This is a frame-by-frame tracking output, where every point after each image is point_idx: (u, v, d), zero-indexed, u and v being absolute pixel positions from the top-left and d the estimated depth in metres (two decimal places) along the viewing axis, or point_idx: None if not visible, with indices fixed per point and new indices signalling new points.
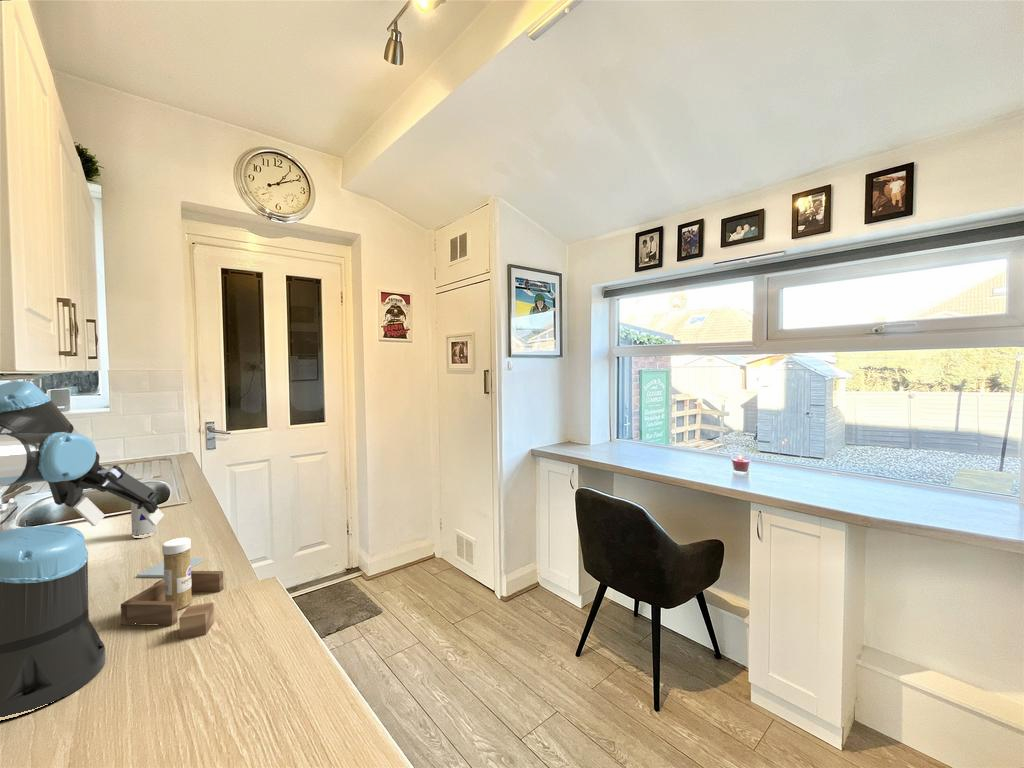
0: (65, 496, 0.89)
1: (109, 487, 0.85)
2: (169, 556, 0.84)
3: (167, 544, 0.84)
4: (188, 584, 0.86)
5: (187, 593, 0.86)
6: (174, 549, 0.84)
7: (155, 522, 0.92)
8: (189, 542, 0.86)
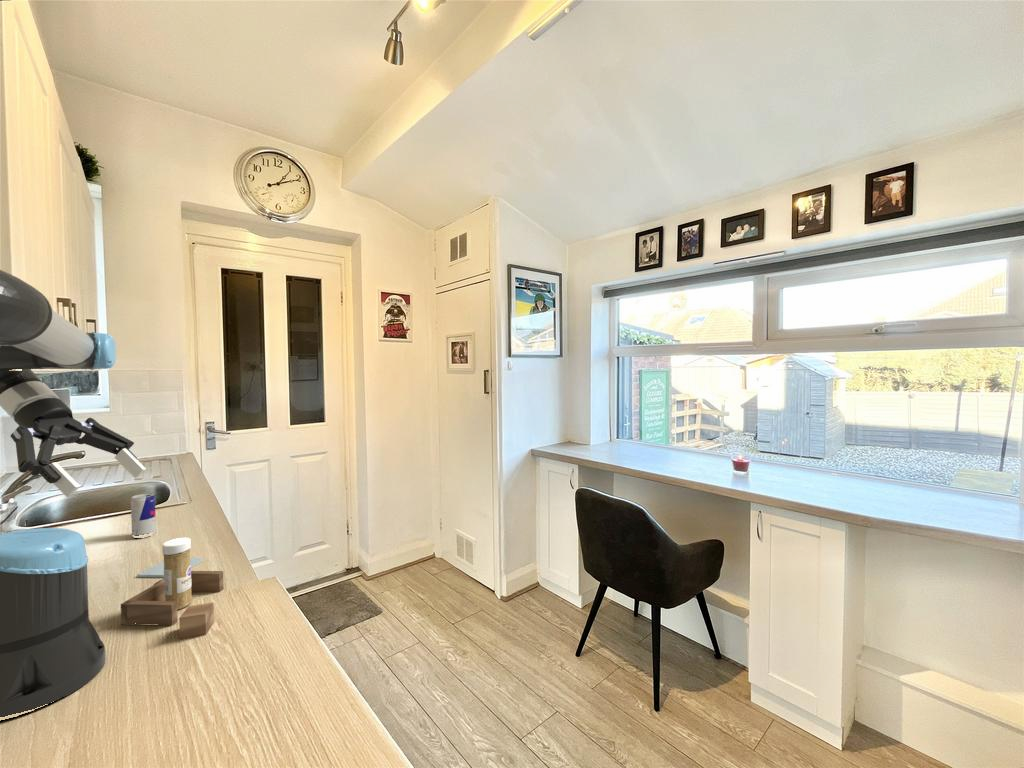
0: None
1: None
2: (169, 556, 0.84)
3: (167, 544, 0.84)
4: (188, 584, 0.86)
5: (187, 593, 0.86)
6: (174, 549, 0.84)
7: None
8: (189, 542, 0.86)
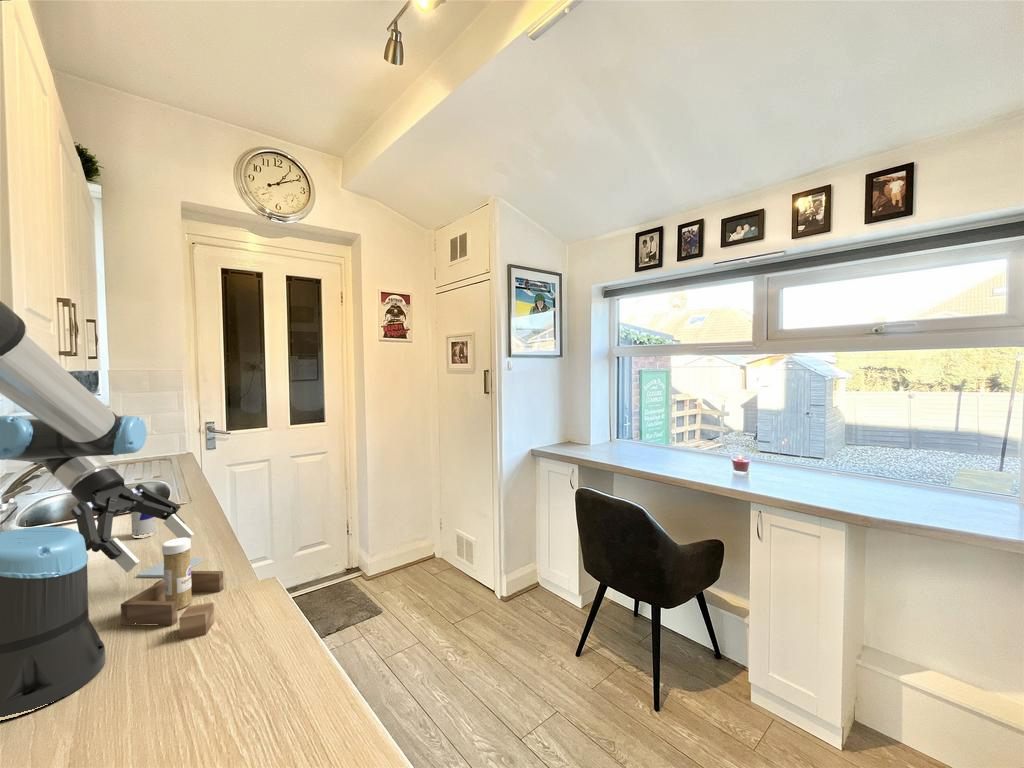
0: None
1: None
2: (169, 556, 0.84)
3: (167, 544, 0.84)
4: (188, 584, 0.86)
5: (187, 593, 0.86)
6: (174, 549, 0.84)
7: None
8: (189, 542, 0.86)
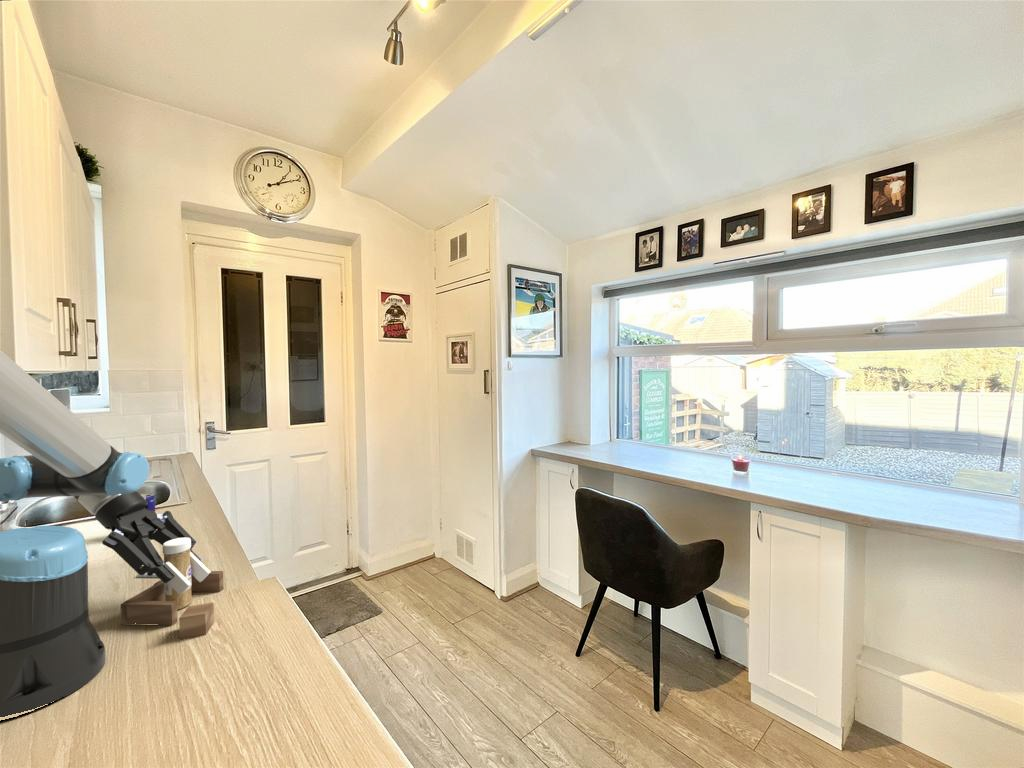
0: None
1: None
2: (169, 556, 0.84)
3: (167, 544, 0.84)
4: None
5: (187, 593, 0.86)
6: (174, 549, 0.84)
7: None
8: (189, 542, 0.86)
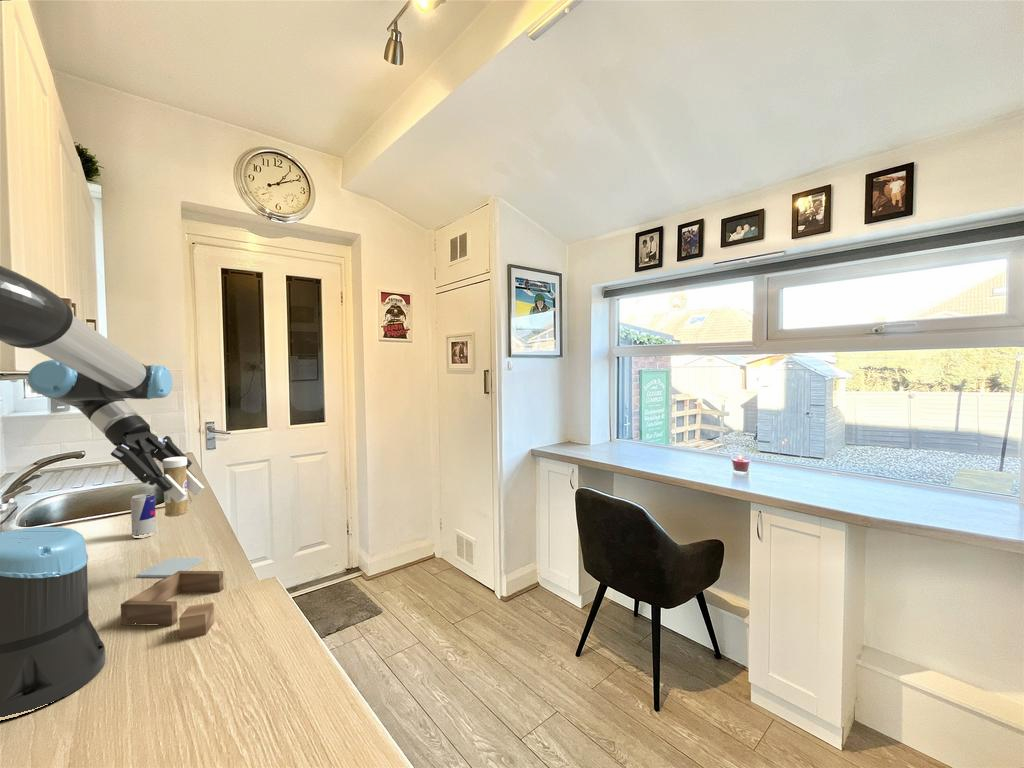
0: None
1: None
2: (168, 469, 0.97)
3: (166, 459, 0.98)
4: None
5: (183, 503, 0.99)
6: (172, 463, 0.97)
7: None
8: (185, 459, 1.00)
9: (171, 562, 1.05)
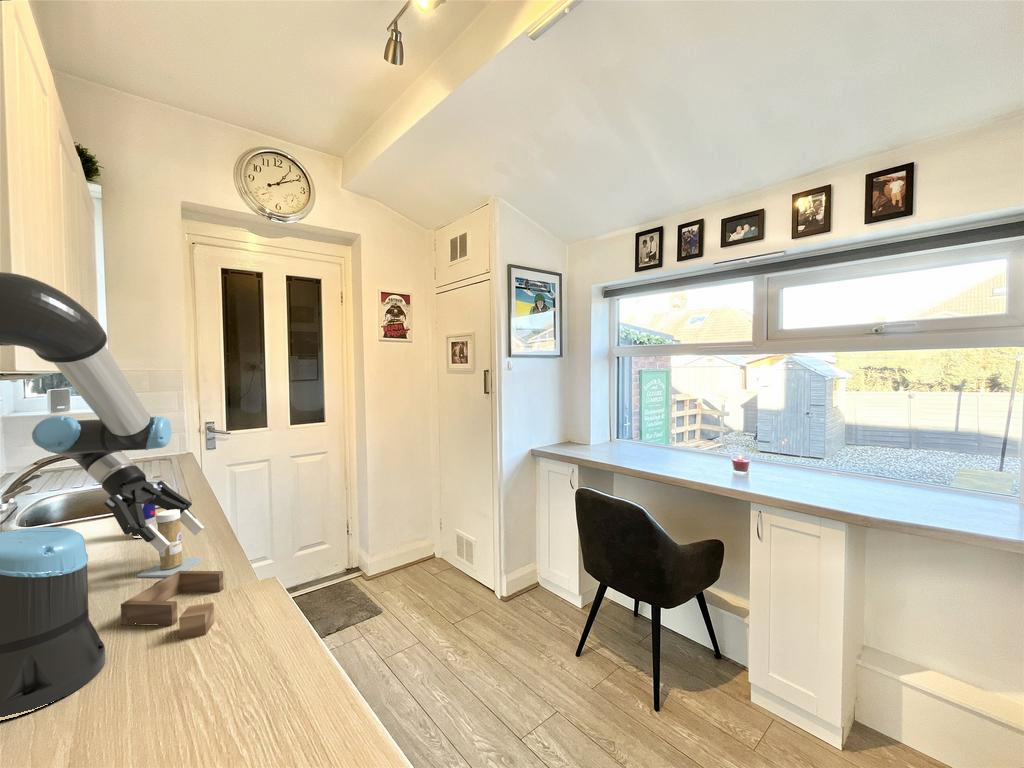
0: None
1: None
2: (162, 524, 1.00)
3: (160, 514, 1.00)
4: (179, 547, 1.02)
5: (178, 555, 1.02)
6: (166, 518, 1.00)
7: None
8: (178, 513, 1.03)
9: None
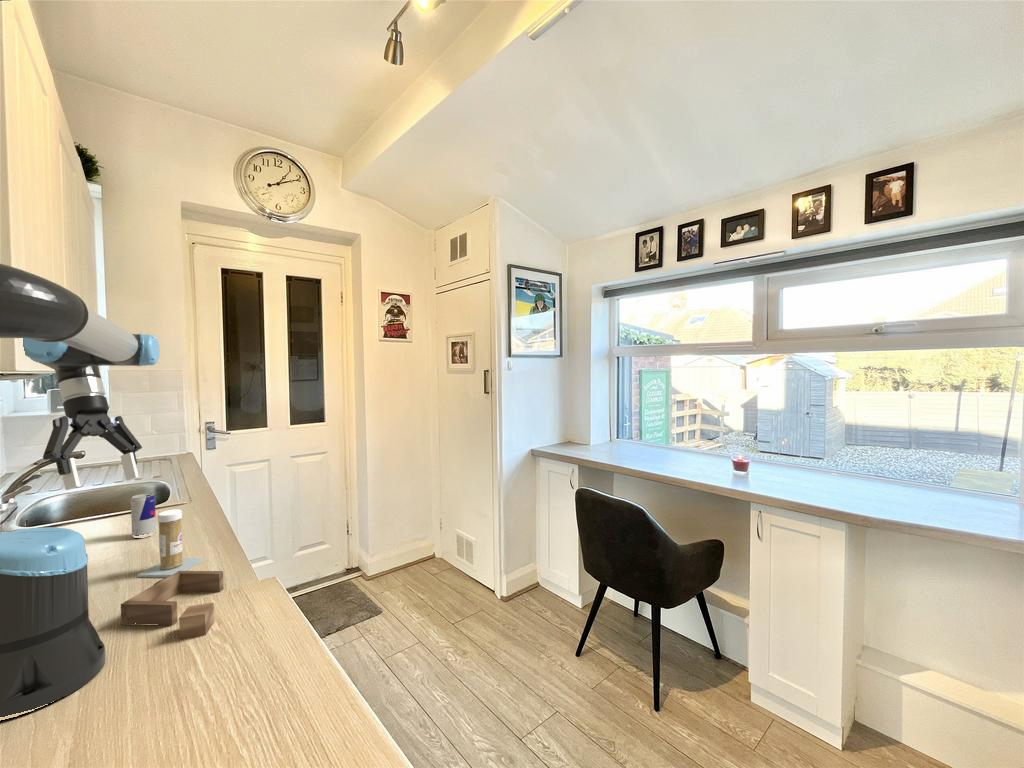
0: None
1: None
2: (163, 524, 1.00)
3: (161, 514, 1.01)
4: (179, 548, 1.02)
5: (178, 555, 1.02)
6: (168, 518, 1.00)
7: None
8: (180, 513, 1.03)
9: None
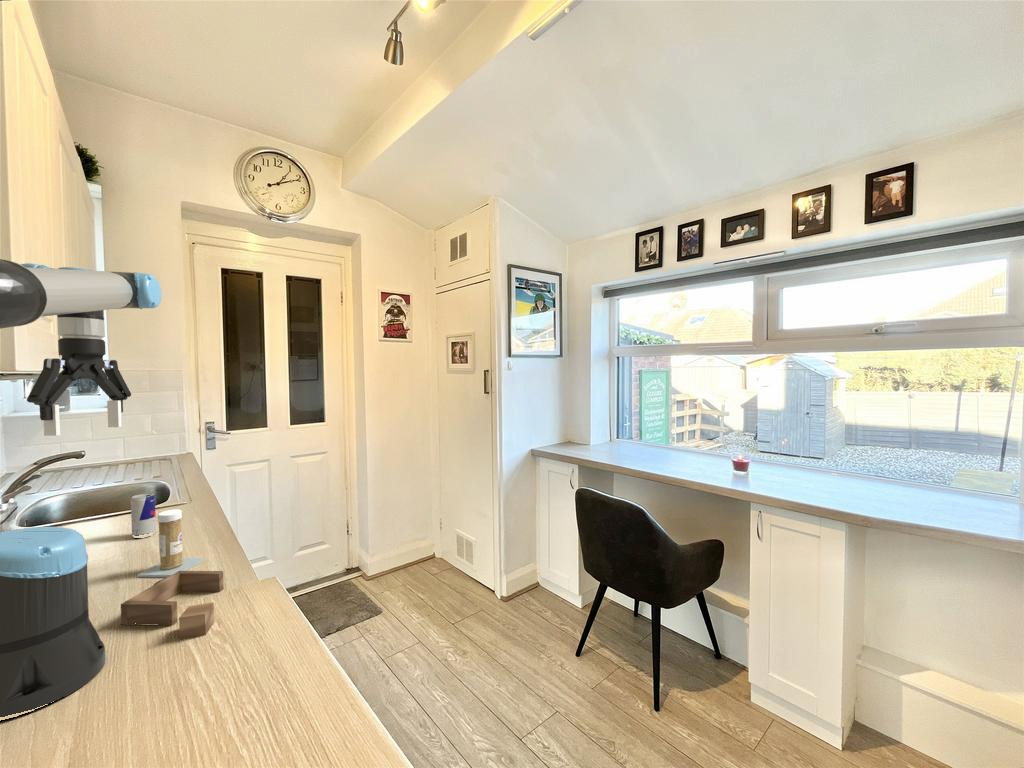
0: None
1: None
2: (163, 524, 1.00)
3: (161, 514, 1.01)
4: (179, 548, 1.02)
5: (178, 555, 1.02)
6: (168, 518, 1.00)
7: None
8: (180, 513, 1.03)
9: None
